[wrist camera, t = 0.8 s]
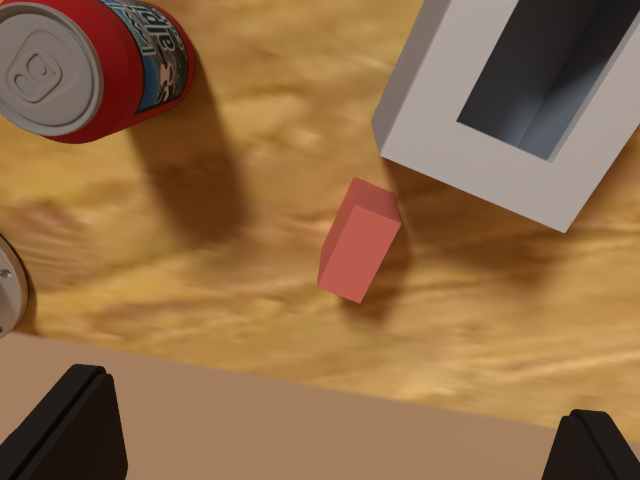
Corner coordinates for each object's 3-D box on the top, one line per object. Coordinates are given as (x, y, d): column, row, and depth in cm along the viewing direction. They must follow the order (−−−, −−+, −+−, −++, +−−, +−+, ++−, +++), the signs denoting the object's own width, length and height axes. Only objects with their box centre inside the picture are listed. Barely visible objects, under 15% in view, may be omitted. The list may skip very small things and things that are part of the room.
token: (358, 262, 36) (360, 303, 30) (321, 248, 36) (316, 286, 30) (392, 192, 34) (401, 223, 28) (354, 176, 33) (355, 204, 28)
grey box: (504, 177, 33) (564, 233, 23) (371, 120, 32) (380, 155, 22) (633, -42, 27) (776, -80, 18) (477, -119, 26) (545, -200, 17)
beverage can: (220, 69, 31) (148, 89, 20) (148, 132, 33) (46, 181, 22) (147, -24, 29) (23, -59, 18) (75, 48, 31) (-77, 55, 20)
